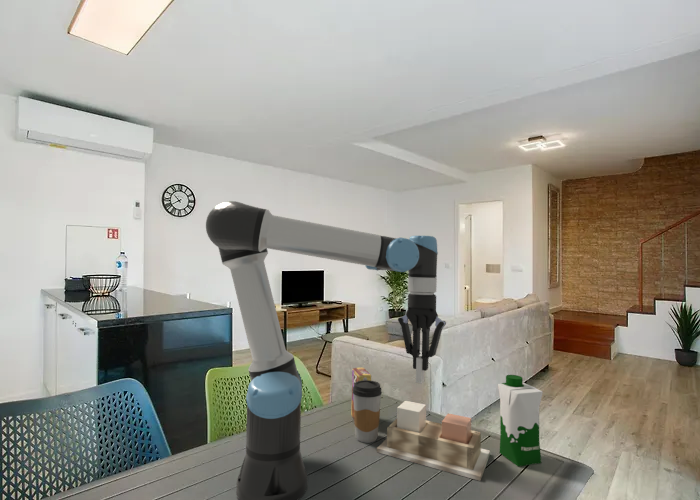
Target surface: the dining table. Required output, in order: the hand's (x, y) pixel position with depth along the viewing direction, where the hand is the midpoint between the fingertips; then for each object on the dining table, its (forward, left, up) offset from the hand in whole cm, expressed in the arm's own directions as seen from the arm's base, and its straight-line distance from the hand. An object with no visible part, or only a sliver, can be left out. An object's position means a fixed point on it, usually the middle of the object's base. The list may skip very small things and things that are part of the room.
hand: (420, 381), depth 101 cm
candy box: (-22, +9, -18) cm, 30 cm away
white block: (-2, 0, -14) cm, 14 cm away
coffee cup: (-15, -1, -18) cm, 24 cm away
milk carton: (+24, +9, -18) cm, 31 cm away
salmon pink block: (+10, 0, -15) cm, 18 cm away
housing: (+4, 0, -18) cm, 18 cm away
